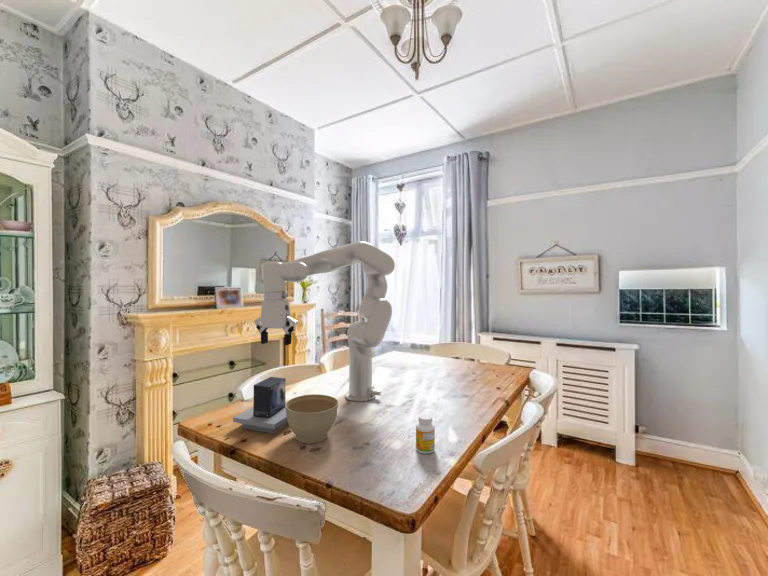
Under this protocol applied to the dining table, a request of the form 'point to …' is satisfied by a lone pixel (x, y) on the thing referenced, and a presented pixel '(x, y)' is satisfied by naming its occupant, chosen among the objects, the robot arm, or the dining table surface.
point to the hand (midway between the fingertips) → (276, 344)
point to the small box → (269, 397)
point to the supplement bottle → (425, 434)
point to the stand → (262, 421)
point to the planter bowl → (311, 416)
